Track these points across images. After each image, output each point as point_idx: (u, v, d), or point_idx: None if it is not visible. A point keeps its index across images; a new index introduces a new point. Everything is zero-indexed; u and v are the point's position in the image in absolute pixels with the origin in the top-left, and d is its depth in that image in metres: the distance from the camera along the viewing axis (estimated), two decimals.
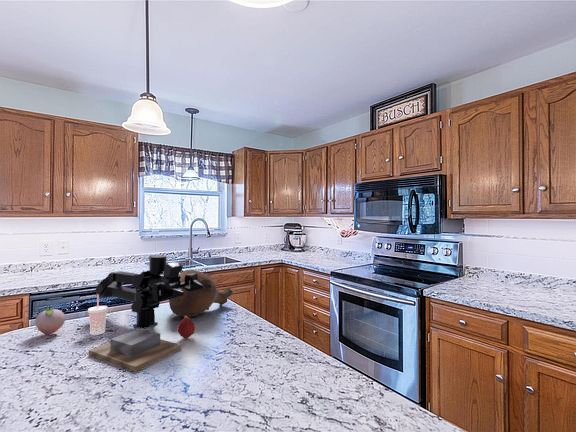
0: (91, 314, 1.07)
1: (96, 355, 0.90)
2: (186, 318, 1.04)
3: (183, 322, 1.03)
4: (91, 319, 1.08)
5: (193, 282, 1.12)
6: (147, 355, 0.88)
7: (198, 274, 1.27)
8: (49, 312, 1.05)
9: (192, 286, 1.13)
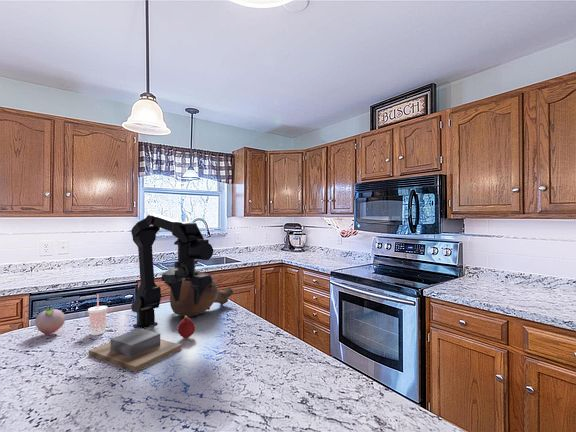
0: (91, 314, 1.07)
1: (96, 355, 0.90)
2: (186, 318, 1.04)
3: (183, 322, 1.03)
4: (91, 319, 1.08)
5: None
6: (147, 355, 0.88)
7: (199, 274, 1.27)
8: (49, 312, 1.05)
9: None
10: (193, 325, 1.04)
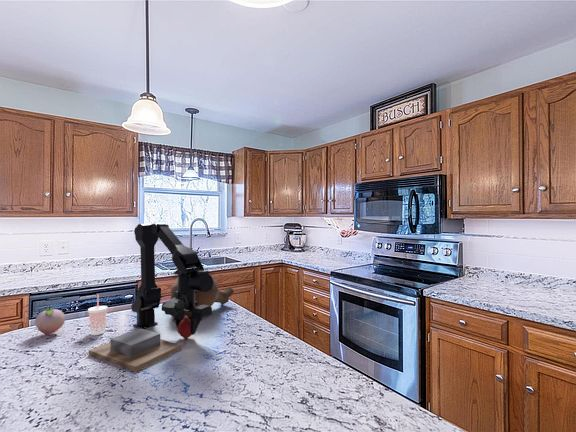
0: (91, 314, 1.07)
1: (96, 355, 0.90)
2: (186, 318, 1.04)
3: (183, 322, 1.03)
4: (91, 319, 1.08)
5: None
6: (147, 355, 0.88)
7: None
8: (49, 312, 1.05)
9: None
10: None
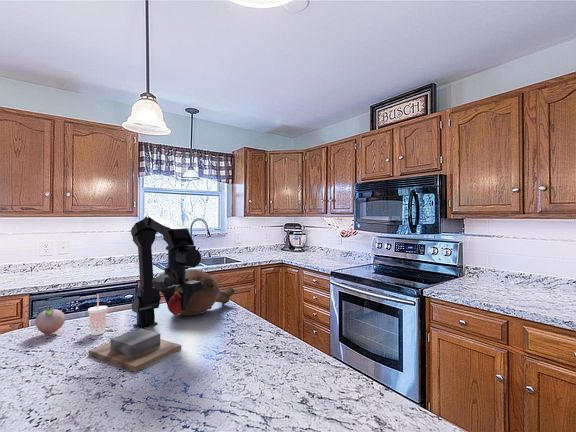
0: (91, 314, 1.07)
1: (96, 355, 0.90)
2: (176, 294, 1.02)
3: (173, 298, 1.01)
4: (91, 319, 1.08)
5: None
6: (147, 355, 0.88)
7: (200, 273, 1.28)
8: (49, 312, 1.05)
9: None
10: None
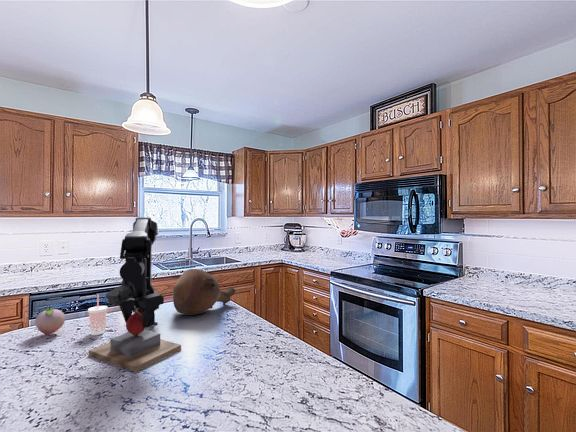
0: (91, 314, 1.07)
1: (96, 355, 0.90)
2: (136, 313, 0.94)
3: (132, 317, 0.93)
4: (91, 319, 1.08)
5: None
6: (147, 355, 0.88)
7: (201, 273, 1.29)
8: (49, 312, 1.05)
9: None
10: None
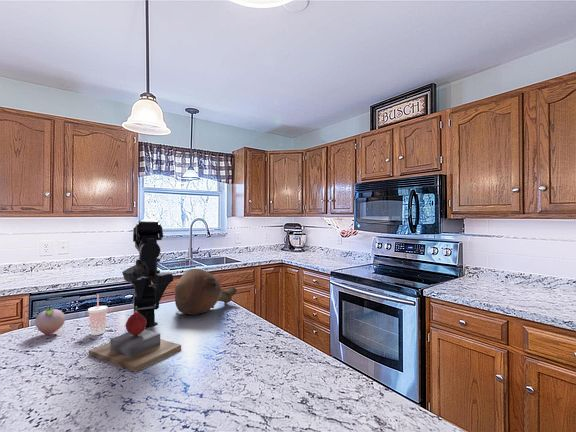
0: (91, 314, 1.07)
1: (96, 355, 0.90)
2: (135, 313, 0.94)
3: (132, 317, 0.93)
4: (91, 319, 1.08)
5: None
6: (147, 355, 0.88)
7: (203, 273, 1.29)
8: (49, 312, 1.05)
9: None
10: (143, 321, 0.94)
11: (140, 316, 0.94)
